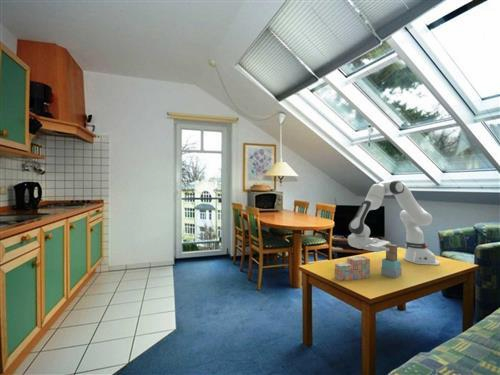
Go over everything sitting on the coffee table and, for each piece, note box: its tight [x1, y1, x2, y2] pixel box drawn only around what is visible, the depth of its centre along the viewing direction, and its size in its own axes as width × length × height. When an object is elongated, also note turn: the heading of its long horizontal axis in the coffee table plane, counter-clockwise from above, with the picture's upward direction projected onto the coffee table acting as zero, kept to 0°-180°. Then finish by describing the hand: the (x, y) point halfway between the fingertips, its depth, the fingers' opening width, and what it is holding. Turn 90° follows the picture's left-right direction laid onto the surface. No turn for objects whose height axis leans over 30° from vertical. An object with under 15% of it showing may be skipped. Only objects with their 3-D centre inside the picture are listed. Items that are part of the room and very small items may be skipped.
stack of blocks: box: [334, 255, 371, 282], centre depth 160 cm, size 21×6×12 cm, turn 105°
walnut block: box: [385, 243, 398, 262], centre depth 164 cm, size 5×5×10 cm
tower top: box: [381, 257, 402, 271], centre depth 165 cm, size 8×8×5 cm
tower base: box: [380, 266, 402, 279], centre depth 165 cm, size 9×9×5 cm
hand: (392, 248), depth 164 cm, fingers open, 8 cm apart
